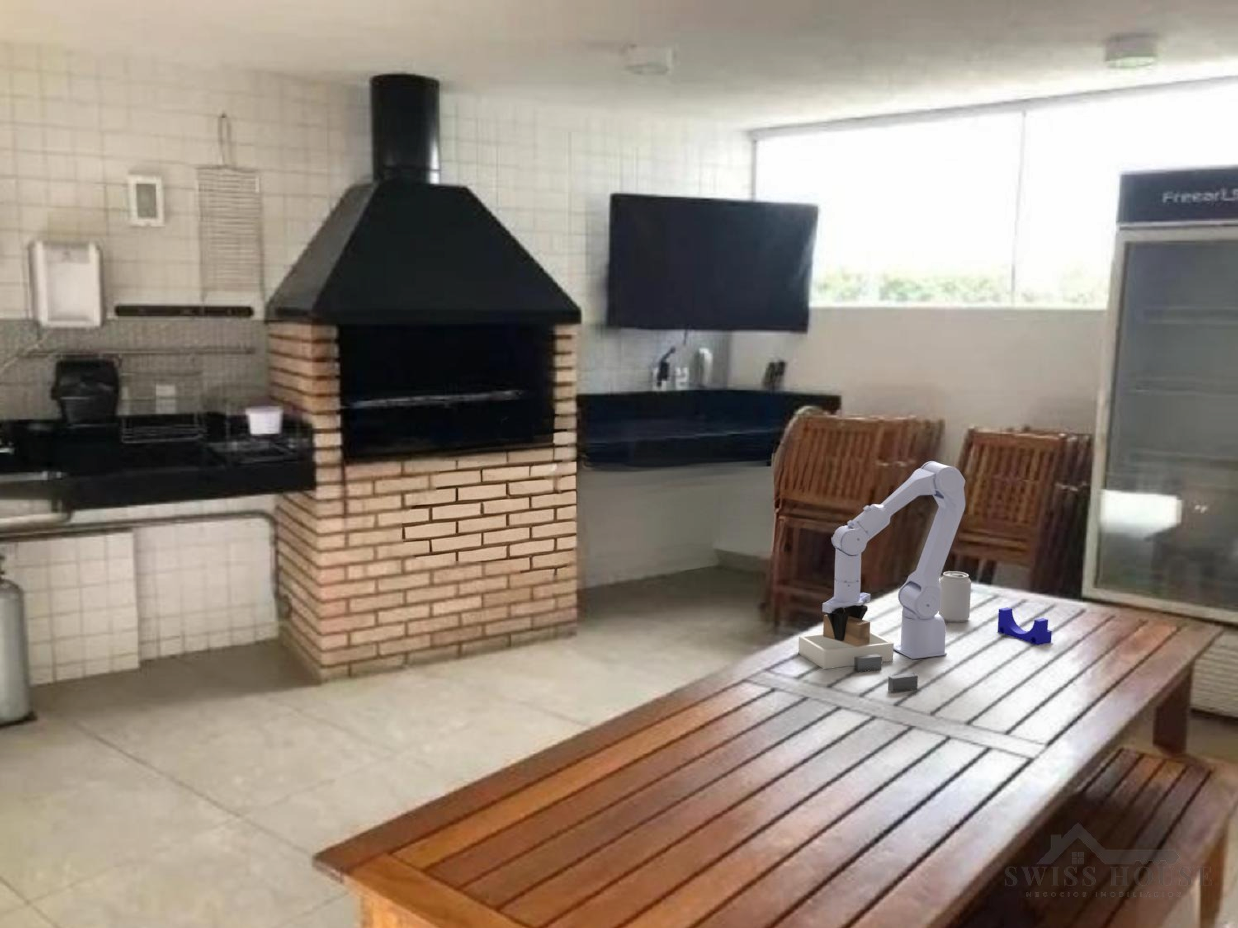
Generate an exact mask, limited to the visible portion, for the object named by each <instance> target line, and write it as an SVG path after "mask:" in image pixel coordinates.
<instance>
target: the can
mask: <svg viewBox="0 0 1238 928" xmlns="http://www.w3.org/2000/svg"><path fill="white" fill-rule="evenodd" d="M969 576H970V575H969V574H968V573H966V572H964V571H963V572H962V571H954V570H953V571H950V570H948V571H944V572H942V576H941V578H939V581H940V585H941V589H942V592H941V595H940V609H939V611H938V614H939V615H941V616H942V618H943V619H944V622H945V621H946V622H950V623H964V622H967V620H968V619H969V618H970V615H971V613H970V611H971V591H972V590H971V589H972V580H971V579H970V577H969Z"/></svg>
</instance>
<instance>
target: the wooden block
mask: <svg viewBox="0 0 1238 928" xmlns="http://www.w3.org/2000/svg"><path fill="white" fill-rule="evenodd" d="M822 630H823V631H822V634H823V636H824V637H827V638H830V639H833V640H836V639H835V637H834V633H833V629H832V625H831V622H830V620H829V618H828V616H827V614H823V629H822ZM870 631H871V621H869V620H864V619H858V618H854V617H851V616H849V617H848V620H847V623H846V629H845V637H844V641H840V642H843V643H847V644H850V645H853V646H857V647H860V646H863V645H866V644H869V643H870ZM837 641H839V640H837Z"/></svg>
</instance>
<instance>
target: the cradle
mask: <svg viewBox="0 0 1238 928" xmlns="http://www.w3.org/2000/svg"><path fill="white" fill-rule="evenodd" d="M882 665H883V662H882V656H881V655H879V654H874V655H866V656H858V657H854V665H853V671H855V672H856V673H863V672H872V671H879V670H883V669H882V668H883V666H882ZM887 678H888V682H887V691H888V692H890V693H892V694H894V693H901V692H902V693H903V692H908V691H915V690H917V691H918V686H919V685H918V683H919V681H918V680H919V679H918V678H919V675H918V674H916V673H913V672H911V673H905V674H904V673H903V674H897V675H889V676H888V677H887Z"/></svg>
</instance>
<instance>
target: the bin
mask: <svg viewBox="0 0 1238 928" xmlns="http://www.w3.org/2000/svg"><path fill="white" fill-rule="evenodd" d="M893 647H895V646H894V642H892V641H890V640H888V639H886V638H885V637H883V636H881V635H879V634H877V633H875V632H872V631H871V630H870V643H869V644H866V645H863V646H860V647H857V646H853V645H850V644H847V643H843V642H840V641H837V640H833V639H830V638H827V637H824V636H823V633H815V634H807V635H799V636H798V654H799V655H801V656H802V657H804V658H805V659H807V660H809V661H811V662H812V663H814V664H815V665H817V666H819V667H820V668H822V669H823V668H824V669H823V670H825V669H827V668H828V669H833V668H832V667H836V668H840V667H841V668H842V667H843V666H844V667H850V666H851V667H852V666H854V657H858V656H866V655H874V654H879V655H881V656H882V663H883V662H891V661H894V649H893ZM828 669H827V670H828Z"/></svg>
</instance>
